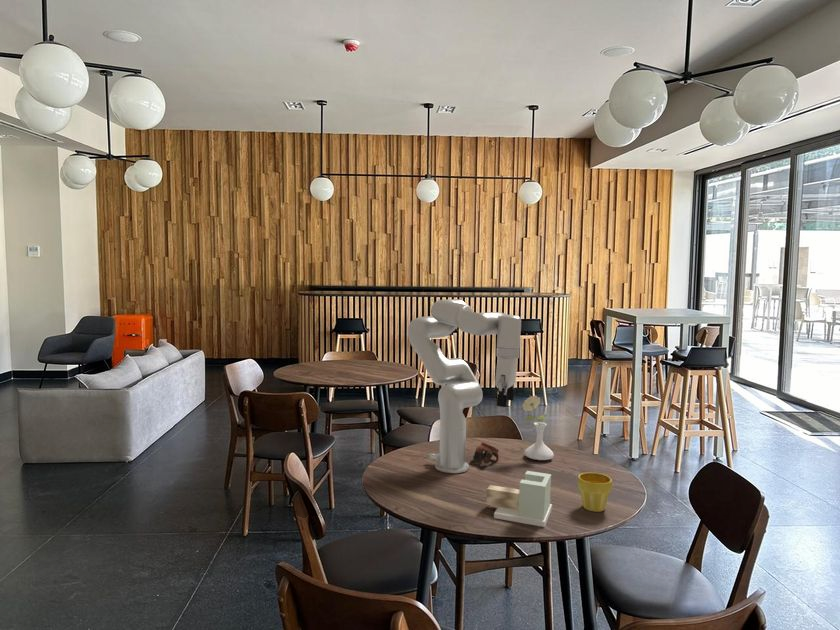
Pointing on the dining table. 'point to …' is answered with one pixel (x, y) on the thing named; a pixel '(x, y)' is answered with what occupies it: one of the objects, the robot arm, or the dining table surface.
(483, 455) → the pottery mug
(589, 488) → the plant pot
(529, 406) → the flower in vase
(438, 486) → the dining table surface
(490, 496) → the rail
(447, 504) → the dining table surface
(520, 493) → the slotted block on base
